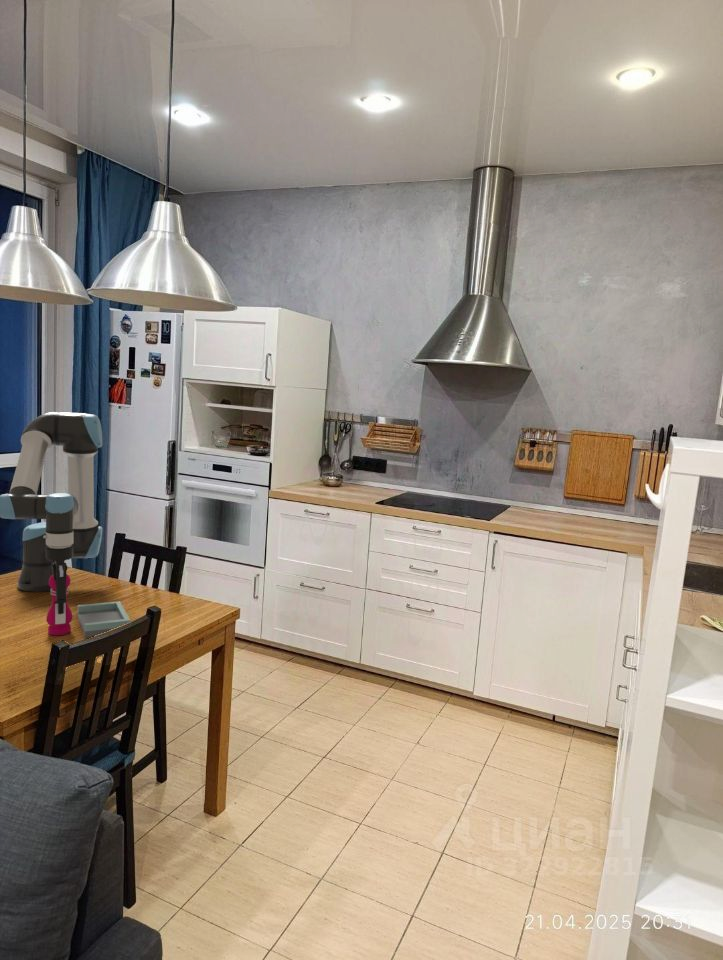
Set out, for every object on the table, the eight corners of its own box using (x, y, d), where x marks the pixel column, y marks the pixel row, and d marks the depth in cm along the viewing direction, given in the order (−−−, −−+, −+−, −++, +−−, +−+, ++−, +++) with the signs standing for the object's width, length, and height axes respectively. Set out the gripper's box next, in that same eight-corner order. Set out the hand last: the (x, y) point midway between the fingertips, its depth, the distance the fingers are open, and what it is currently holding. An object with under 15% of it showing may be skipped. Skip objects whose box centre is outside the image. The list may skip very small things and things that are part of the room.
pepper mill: (45, 637, 196) (45, 572, 193) (46, 628, 202) (46, 565, 200) (72, 634, 199) (72, 570, 196) (72, 626, 205) (72, 564, 202)
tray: (77, 617, 214) (77, 605, 213) (119, 612, 220) (119, 601, 220) (84, 637, 197) (85, 625, 197) (130, 632, 204) (130, 620, 203)
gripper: (43, 538, 203) (43, 609, 207) (48, 554, 186) (48, 632, 189) (69, 537, 207) (69, 607, 210) (76, 553, 190) (76, 628, 193)
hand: (59, 618), depth 200 cm, fingers closed on pepper mill, 7 cm apart
